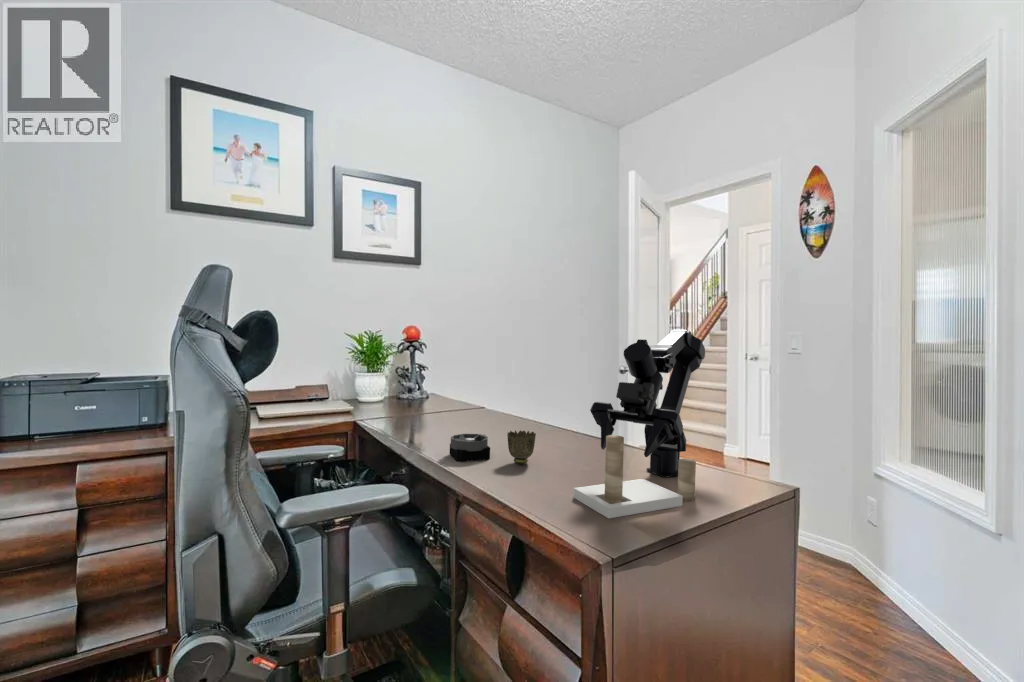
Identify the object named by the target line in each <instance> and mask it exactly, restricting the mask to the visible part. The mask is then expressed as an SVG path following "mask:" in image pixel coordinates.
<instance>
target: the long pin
mask: <svg viewBox="0 0 1024 682" xmlns="http://www.w3.org/2000/svg"><path fill="white" fill-rule="evenodd" d="M624 446H625V437H624V436H621V435H614V434H612V435H608V436H606V448H605V463H604V464H605V467H604V484H605V497H604V501H605V502H607V503H609V504H615V503H622V489H623V481H624V455H625V454H624V451H625V450H624V449H625V447H624Z"/></svg>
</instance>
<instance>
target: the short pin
mask: <svg viewBox="0 0 1024 682" xmlns="http://www.w3.org/2000/svg"><path fill="white" fill-rule="evenodd" d="M696 467H697V461H696V460H694V459H692V458H679V465H678V476H677V494H679V495H682V496H683V498H682V502H694V501H695V500H696V498H695V497H696V469H697V468H696Z"/></svg>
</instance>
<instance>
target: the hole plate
mask: <svg viewBox="0 0 1024 682" xmlns="http://www.w3.org/2000/svg"><path fill="white" fill-rule="evenodd" d="M604 497H605V483H602V484H601V483H600V484H594V485H587V486H580V487H573V499H575V500H577V501H579V502H580V503H582V504H584V505H585V506H587V507H589V508H590V509H592V510H594V511H595V512H597V513H599V514H601V515H602V516H603V517H605V518H607V519H613V518H619V517H625V516H630V515H636V514H642V513H647V512H648V513H649V512H655V511H659V510H660V511H661V510H667V509H672V508H679V507H683V500H682V498H683V496H682V495H679V494H678V492H674V491H672V490H670V489H668V488H665V487H663V486H661V485H658V484H656V483H654V482H652V481H649V480H646V479H644V478H638V479H631V480H623V489H622V503H615V504H609V503H607V502H605V501H604Z"/></svg>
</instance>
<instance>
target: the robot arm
mask: <svg viewBox="0 0 1024 682" xmlns="http://www.w3.org/2000/svg"><path fill="white" fill-rule="evenodd" d="M703 343H704V342H703V341H702V340H701V339H700V338H698V337H696V336H694V335H693V334H692V332H691V331H690V330H687V329H672V330H669V332H668V334H667V335H666V336H665V337H664V338H663V339H661V340H660V342H658V343H657V344H653V345H649V343H648V340H647V339H642V338H641V339H640V338H639V339H637V341H636V342H634V343H631V344H629V345H628V346H627V347H626V348H624V350H623V357H624V360H625V363H626V365H627V368H628V370H629V373H630V375H631V376H632V377H634V378H635V379H634V382H626V381H625V382H623V381H621V382H619V383H618V387H617V392H616V396H615V397H616V398H617V399H619V400H620V403H619V405H620V407H621V408H623V410H619V409H614V407H613V404H612V403H610V402H603V401H594V402H593V403H592V405H591V407H590V410H589V411H590V413H591V415H592V417H593V419H594V421H595V423H596V424H597V425H598V426H599V427H600V448H601V449H602V450H603V451H604V450H606V436H608V435H613V433H614V431H615V428H614V426H615V425H616V423H617V421H622V422H623V421H624V422H631V423H634V424H641V425H645V426H644V439H645V440H644V441H645V449H644V452H643V455H644V457H645V458H648V457H649V456H650V457H649V467H647V468H646V471H647V472H650V473H651V474H652V473H653V474H655V475H658V476H660V477H662V478H669V477H678V465H679V459H680V453H682V452H686V451H687V438H686V435H685V431H684V425H683V421H682V419H681V415H680V413H681V411H682V410H681V409H682V407H683V403H684V399H685V395H686V393H687V389H688V386H689V381H690V379H691V375H692V373H693V372H695V371H696V370H697V369H699V368H700V367H701V364H702V363H703V362H702V361H703V360H704V359H705V358H706V357H705V356H706V348H705V345H704V344H703ZM670 372H671V374H670V377H669V380H668V383H667V386H666V388H665V393H664V395H663V398H662V402H661V405H660V407H659V408H657V406H658V405H657V399H658V396H659V393H660V391H662V390H663V388H664V385H663V381H664V377H663V375H662V374H669V373H670Z"/></svg>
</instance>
